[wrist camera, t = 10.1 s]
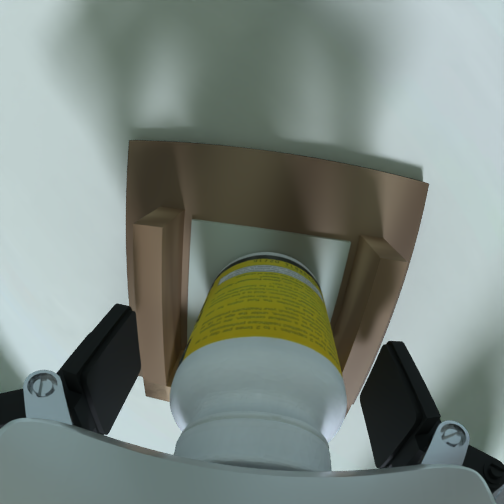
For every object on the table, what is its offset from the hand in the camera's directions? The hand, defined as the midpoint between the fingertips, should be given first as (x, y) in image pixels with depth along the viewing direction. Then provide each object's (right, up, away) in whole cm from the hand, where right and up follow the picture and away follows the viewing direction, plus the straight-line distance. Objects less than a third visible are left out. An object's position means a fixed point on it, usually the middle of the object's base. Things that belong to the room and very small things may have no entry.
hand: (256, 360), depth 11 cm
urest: (0, +2, +5) cm, 5 cm away
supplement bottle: (0, +2, +4) cm, 5 cm away
